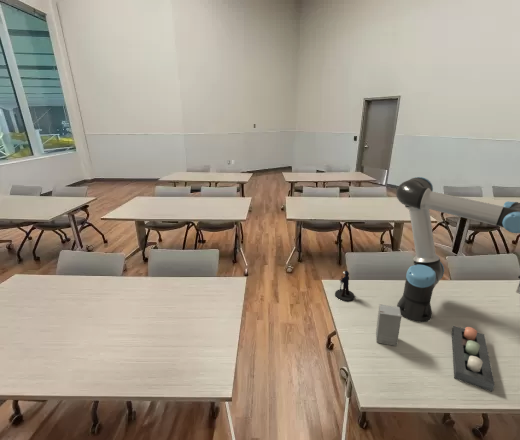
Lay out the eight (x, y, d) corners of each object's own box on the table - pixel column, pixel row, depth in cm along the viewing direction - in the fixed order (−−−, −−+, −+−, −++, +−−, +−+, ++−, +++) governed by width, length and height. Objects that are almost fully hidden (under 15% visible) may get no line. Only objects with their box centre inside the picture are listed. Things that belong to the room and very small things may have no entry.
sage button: (465, 352, 110) (467, 345, 109) (464, 346, 114) (466, 339, 112) (478, 356, 108) (480, 349, 107) (476, 350, 112) (479, 342, 110)
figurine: (345, 288, 159) (348, 265, 154) (358, 298, 150) (361, 273, 146) (331, 293, 155) (333, 268, 150) (343, 303, 147) (345, 277, 142)
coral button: (463, 338, 118) (465, 331, 116) (463, 332, 121) (465, 325, 120) (475, 342, 116) (477, 334, 114) (474, 335, 119) (476, 328, 118)
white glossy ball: (467, 369, 103) (469, 361, 102) (466, 361, 106) (468, 354, 105) (480, 374, 101) (483, 366, 100) (479, 366, 104) (482, 358, 103)
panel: (454, 378, 103) (456, 371, 102) (451, 331, 126) (453, 325, 125) (492, 392, 98) (494, 384, 97) (482, 341, 121) (484, 334, 120)
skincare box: (395, 336, 124) (400, 306, 118) (397, 348, 117) (403, 316, 112) (374, 332, 126) (379, 302, 121) (375, 343, 120) (380, 312, 115)
